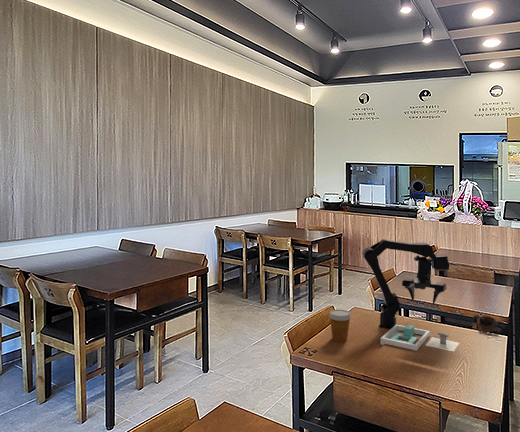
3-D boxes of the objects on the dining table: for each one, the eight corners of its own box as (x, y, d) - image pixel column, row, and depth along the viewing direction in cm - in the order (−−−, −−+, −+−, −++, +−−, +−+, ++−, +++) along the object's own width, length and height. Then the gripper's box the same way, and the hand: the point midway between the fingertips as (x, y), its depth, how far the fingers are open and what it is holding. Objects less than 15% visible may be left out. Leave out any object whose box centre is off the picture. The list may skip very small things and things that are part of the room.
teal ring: (389, 343, 186) (389, 332, 186) (400, 332, 198) (400, 323, 198) (410, 347, 181) (411, 337, 181) (420, 337, 193) (421, 327, 192)
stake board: (425, 347, 182) (425, 336, 182) (432, 339, 191) (432, 328, 191) (453, 353, 176) (454, 341, 175) (459, 345, 185) (459, 333, 184)
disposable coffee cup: (327, 342, 189) (328, 315, 188) (329, 334, 198) (329, 308, 197) (350, 344, 187) (350, 316, 185) (351, 336, 196) (351, 310, 195)
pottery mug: (502, 332, 200) (502, 320, 196) (489, 344, 197) (488, 332, 193) (478, 319, 210) (478, 307, 205) (465, 330, 207) (465, 318, 202)
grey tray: (380, 344, 186) (380, 337, 185) (395, 330, 202) (396, 324, 202) (416, 352, 177) (416, 345, 177) (429, 337, 193) (429, 331, 193)
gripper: (398, 270, 202) (397, 303, 203) (441, 276, 191) (440, 310, 193) (406, 266, 211) (405, 298, 212) (447, 271, 200) (445, 304, 202)
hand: (423, 302), depth 204 cm, fingers open, 9 cm apart
